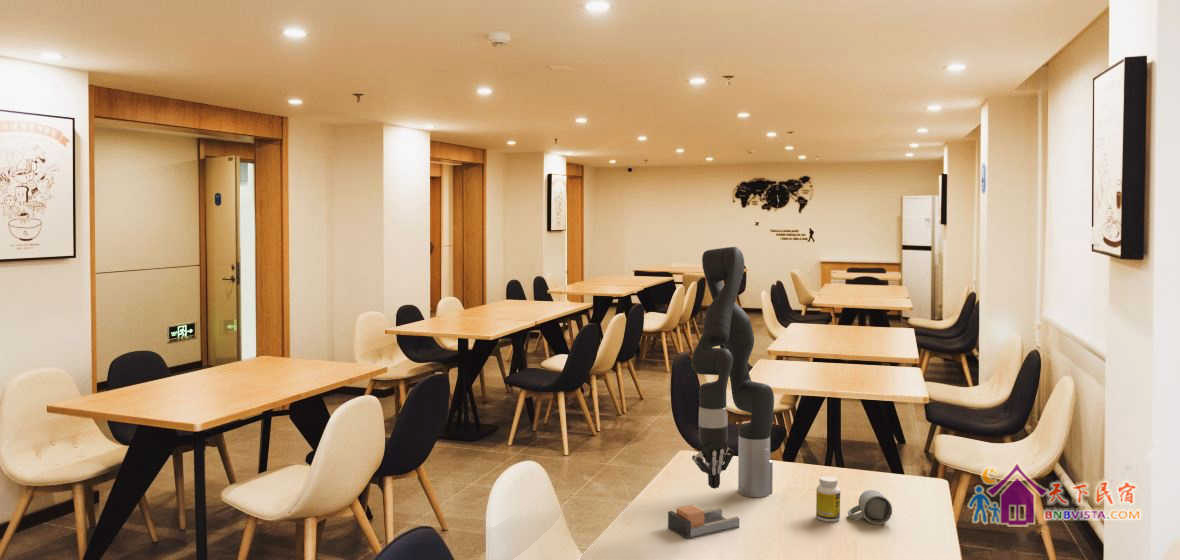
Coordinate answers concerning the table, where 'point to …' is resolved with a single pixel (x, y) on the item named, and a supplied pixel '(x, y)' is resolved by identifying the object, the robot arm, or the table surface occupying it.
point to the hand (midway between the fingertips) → (714, 487)
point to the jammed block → (691, 514)
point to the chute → (710, 526)
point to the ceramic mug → (872, 508)
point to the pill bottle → (828, 500)
